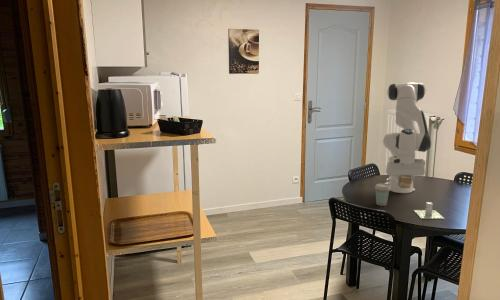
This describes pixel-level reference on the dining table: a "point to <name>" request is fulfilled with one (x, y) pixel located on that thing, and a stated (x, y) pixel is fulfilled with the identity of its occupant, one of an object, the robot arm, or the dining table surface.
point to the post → (428, 212)
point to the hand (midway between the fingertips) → (404, 183)
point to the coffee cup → (382, 194)
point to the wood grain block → (404, 181)
